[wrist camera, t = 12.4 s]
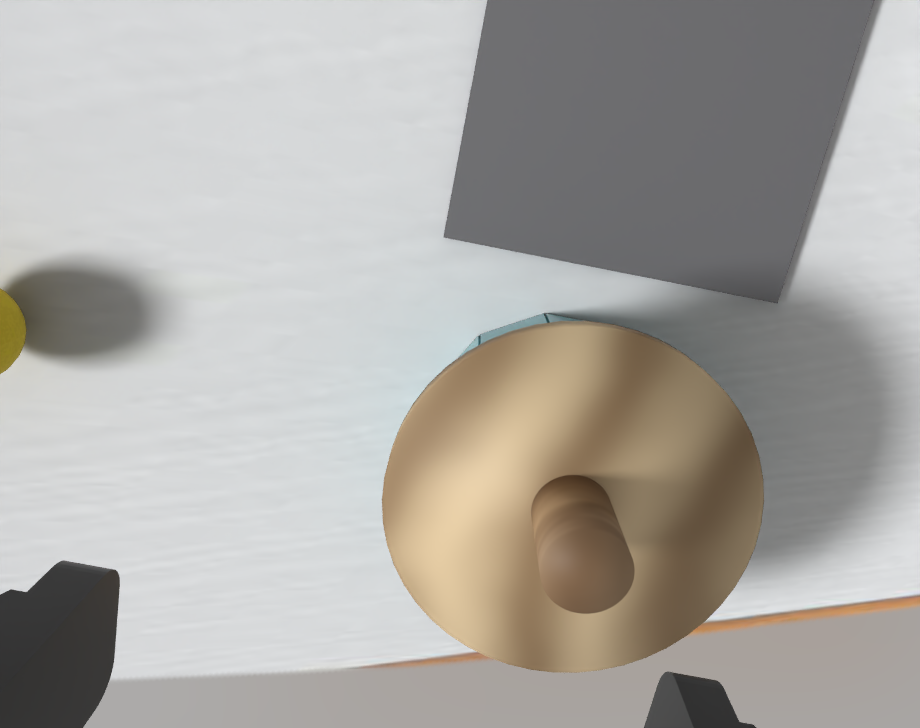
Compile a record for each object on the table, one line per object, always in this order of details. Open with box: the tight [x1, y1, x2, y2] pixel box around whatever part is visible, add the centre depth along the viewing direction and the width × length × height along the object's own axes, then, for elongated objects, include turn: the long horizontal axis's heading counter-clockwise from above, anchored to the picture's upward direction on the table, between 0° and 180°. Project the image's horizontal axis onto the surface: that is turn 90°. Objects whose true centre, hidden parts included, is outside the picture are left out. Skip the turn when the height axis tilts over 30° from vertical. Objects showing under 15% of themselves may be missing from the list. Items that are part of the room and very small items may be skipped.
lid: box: [382, 321, 764, 673], centre depth 31 cm, size 17×17×6 cm
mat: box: [444, 0, 874, 303], centre depth 36 cm, size 18×18×1 cm
